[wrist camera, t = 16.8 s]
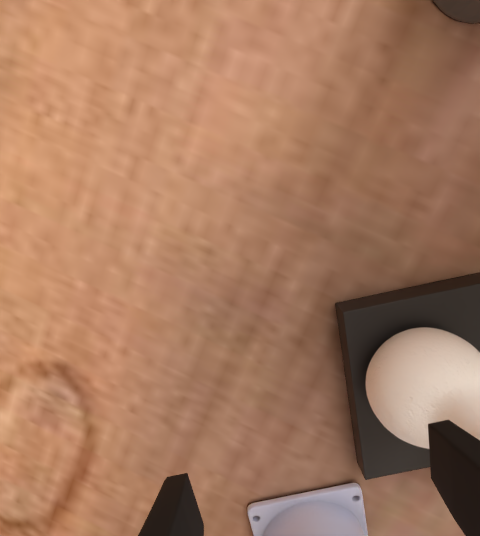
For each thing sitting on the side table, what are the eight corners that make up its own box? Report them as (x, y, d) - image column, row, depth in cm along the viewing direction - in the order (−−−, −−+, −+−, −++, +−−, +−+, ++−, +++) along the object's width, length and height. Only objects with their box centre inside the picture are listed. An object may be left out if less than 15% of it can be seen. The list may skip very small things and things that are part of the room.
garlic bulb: (363, 423, 20) (447, 575, 13) (351, 332, 19) (440, 443, 11) (465, 403, 20) (612, 542, 13) (463, 309, 19) (631, 404, 11)
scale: (512, 439, 23) (553, 477, 20) (358, 470, 23) (377, 513, 20) (515, 264, 20) (566, 280, 17) (335, 302, 20) (353, 324, 17)
